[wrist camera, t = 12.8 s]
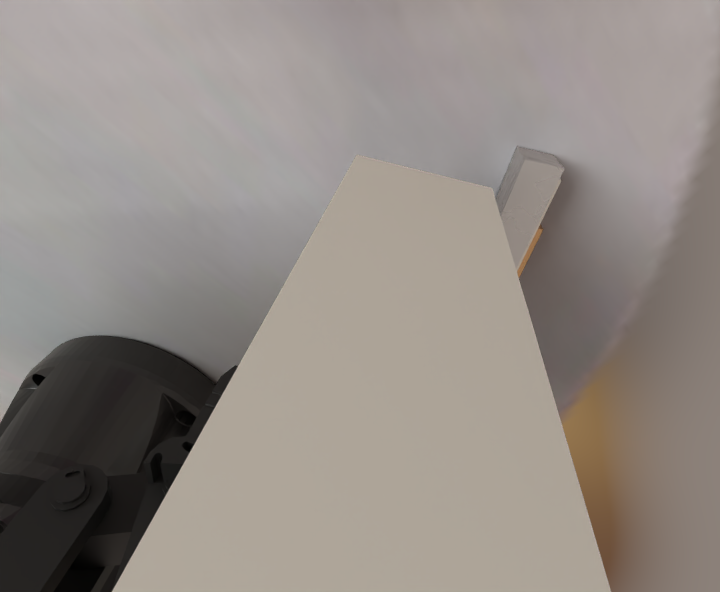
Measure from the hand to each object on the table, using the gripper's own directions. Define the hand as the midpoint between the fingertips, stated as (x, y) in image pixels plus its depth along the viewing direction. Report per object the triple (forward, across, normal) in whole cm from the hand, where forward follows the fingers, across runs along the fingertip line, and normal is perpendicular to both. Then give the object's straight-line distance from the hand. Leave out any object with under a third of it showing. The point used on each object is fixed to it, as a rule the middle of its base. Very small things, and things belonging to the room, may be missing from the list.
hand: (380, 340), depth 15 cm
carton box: (+2, 0, 0) cm, 2 cm away
